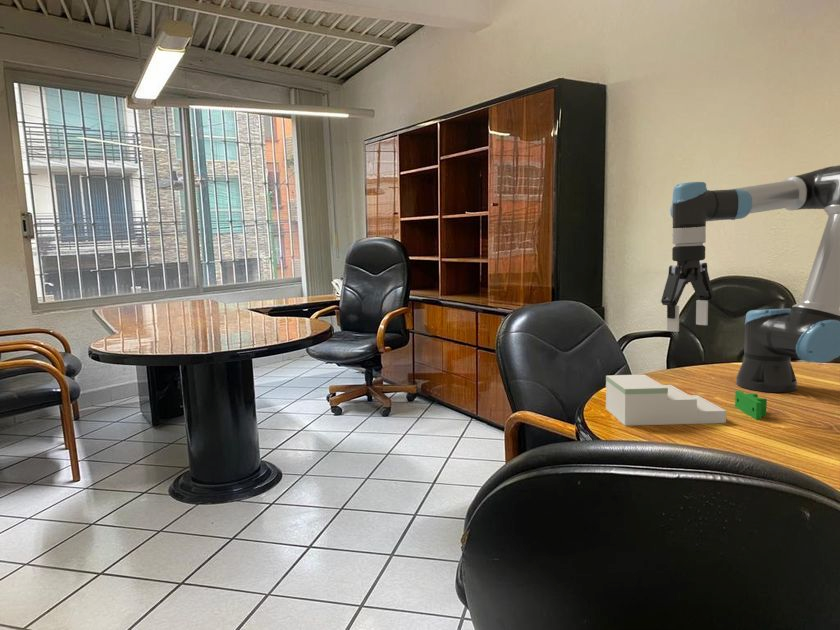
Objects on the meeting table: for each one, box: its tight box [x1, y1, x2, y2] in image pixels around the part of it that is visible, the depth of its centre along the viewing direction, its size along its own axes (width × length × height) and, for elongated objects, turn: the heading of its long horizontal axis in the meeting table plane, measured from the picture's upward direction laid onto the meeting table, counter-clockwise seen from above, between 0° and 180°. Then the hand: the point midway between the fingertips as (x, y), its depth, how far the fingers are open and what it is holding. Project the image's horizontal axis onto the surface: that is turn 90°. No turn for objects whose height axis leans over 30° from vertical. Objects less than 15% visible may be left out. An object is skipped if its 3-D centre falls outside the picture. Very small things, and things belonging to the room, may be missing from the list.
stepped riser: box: [605, 374, 727, 427], centre depth 136 cm, size 24×14×9 cm, turn 89°
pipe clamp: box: [734, 390, 768, 421], centre depth 136 cm, size 11×4×5 cm, turn 173°
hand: (687, 328), depth 140 cm, fingers open, 13 cm apart
